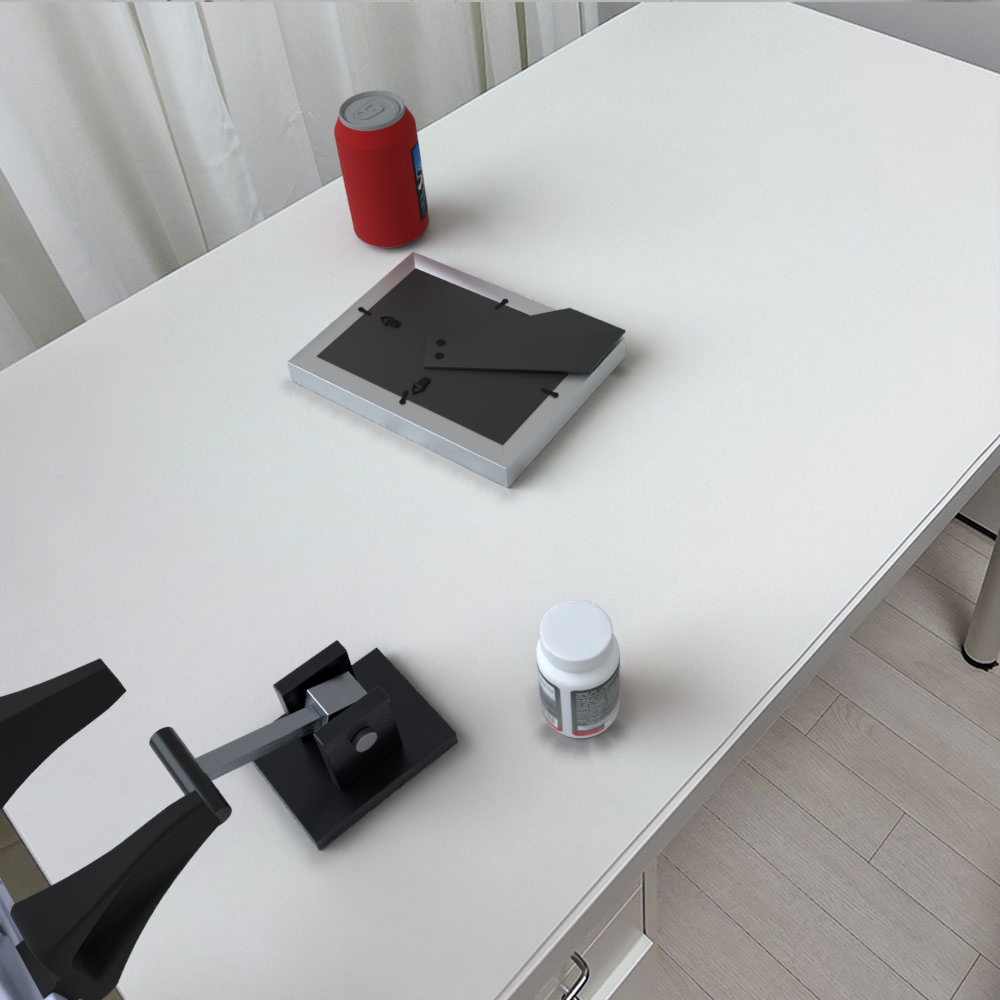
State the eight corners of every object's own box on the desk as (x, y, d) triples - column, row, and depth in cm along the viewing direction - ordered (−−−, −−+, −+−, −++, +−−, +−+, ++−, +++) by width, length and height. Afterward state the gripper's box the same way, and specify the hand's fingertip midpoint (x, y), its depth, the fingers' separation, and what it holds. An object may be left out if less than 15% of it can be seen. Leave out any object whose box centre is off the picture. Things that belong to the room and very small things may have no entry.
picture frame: (625, 357, 86) (416, 271, 94) (625, 330, 83) (411, 244, 92) (508, 488, 78) (292, 381, 86) (505, 462, 76) (284, 354, 84)
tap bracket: (319, 851, 62) (293, 799, 57) (245, 754, 66) (214, 697, 61) (458, 742, 65) (446, 683, 60) (379, 657, 70) (361, 595, 64)
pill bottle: (628, 681, 67) (631, 604, 61) (607, 749, 64) (607, 675, 58) (553, 662, 68) (548, 584, 62) (530, 728, 66) (522, 653, 59)
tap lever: (205, 838, 55) (207, 809, 54) (148, 757, 58) (148, 727, 57) (384, 746, 62) (390, 718, 60) (324, 677, 65) (329, 649, 64)
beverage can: (446, 227, 98) (430, 103, 89) (390, 264, 95) (368, 141, 86) (394, 199, 101) (374, 77, 92) (339, 234, 98) (312, 112, 89)
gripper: (-173, 1151, 32) (221, 833, 36) (-307, 798, 39) (32, 570, 44) (-46, 1178, 37) (281, 900, 42) (-185, 864, 45) (105, 657, 49)
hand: (159, 736), depth 43 cm, fingers open, 7 cm apart
